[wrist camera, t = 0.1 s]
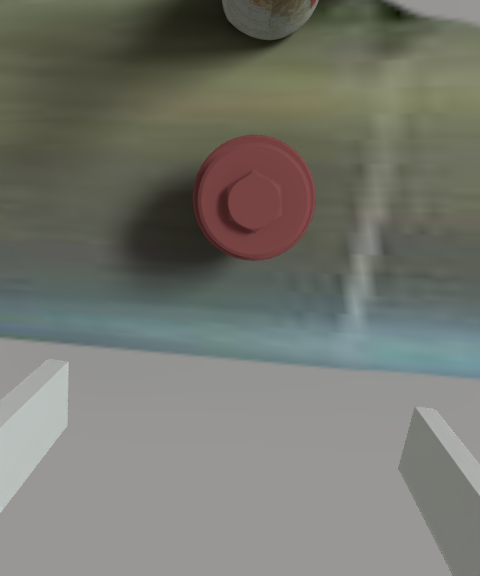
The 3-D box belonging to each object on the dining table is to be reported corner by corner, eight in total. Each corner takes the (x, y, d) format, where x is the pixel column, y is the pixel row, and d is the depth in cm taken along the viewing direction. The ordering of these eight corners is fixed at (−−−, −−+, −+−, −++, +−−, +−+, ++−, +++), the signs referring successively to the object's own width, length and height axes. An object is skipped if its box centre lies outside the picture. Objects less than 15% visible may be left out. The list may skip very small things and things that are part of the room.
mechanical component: (304, 243, 41) (208, 248, 42) (302, 141, 39) (200, 147, 39) (325, 268, 29) (190, 275, 30) (324, 122, 27) (177, 132, 27)
